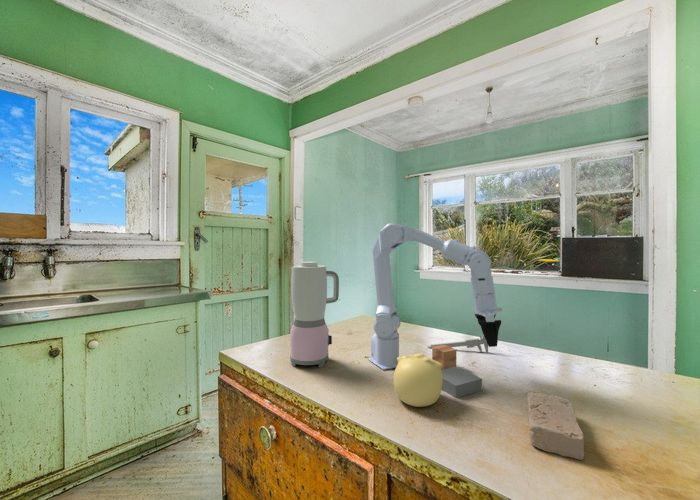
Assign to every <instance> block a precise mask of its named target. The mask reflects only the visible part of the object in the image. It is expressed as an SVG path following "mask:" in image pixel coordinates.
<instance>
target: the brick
mask: <svg viewBox="0 0 700 500" xmlns="http://www.w3.org/2000/svg"><path fill="white" fill-rule="evenodd" d="M526 401H527V414H528V427H529V439H530V440H529V441H530V445H531V446H533V447H536V448H537V449H540V450H542V451H545V452H548V453H552V454H557V455H559V456H561V457H566V458H567V457H569V458H572V459H576V460H579V461H580V460H582V461H583V460H584V457H585V439H584V438H585V437H584V433H583V431H582V428H581V427H580V425H579V423H578V420H577V417H576V413H575V410H574V408H573V407H574V406H573V404H572V402H571V401H570V400H569V399H568V398H564V397H560V396H558V395H557V396H556V395H549V394H543V393H540V392H539V393H538V392H532V391H529V392H528V393H527V397H526Z"/></svg>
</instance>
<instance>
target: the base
mask: <svg viewBox="0 0 700 500" xmlns="http://www.w3.org/2000/svg"><path fill="white" fill-rule="evenodd" d="M442 377H443V382H442V389H441V391H442V390H443V391H444V392H446V393H447V394H449V396H453V397H454V398H456V399H457V398H459V397H463V396H466V395H470V394H473V393H478V392H480V391H483V378H482V377H480V376H478V375H476V374H473V373H471V372H470V371H467V370H465V369H463V368H461V367H459V366H457V365H456V366H455V367H451V368H446V369H442Z"/></svg>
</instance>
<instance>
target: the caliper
mask: <svg viewBox="0 0 700 500" xmlns="http://www.w3.org/2000/svg"><path fill="white" fill-rule="evenodd" d="M478 336H479V337H478V338H469V339H465V340H464V341H451V342H444V343H434V344H430V345H428V346H427V347H426V348H427V349H431V350H432V347H436V346H441V345H446V346H449V347H451V348H459V347H466V348H467V349H470V348H471V349H472V348H474V347H477V348H478V351H479V352H480V353H481V354H482V353H483V349H482V345H484V346H483V347H484V349H485V353H486V354H488V353H489V346H488V344H487V341H486V339H485V337H484V335H483V334H482V336H481V335H478Z"/></svg>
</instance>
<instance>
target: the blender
mask: <svg viewBox="0 0 700 500" xmlns="http://www.w3.org/2000/svg"><path fill="white" fill-rule="evenodd" d="M289 269H290V270H291V282H290V283H291V286H290V287H291V292H290V293H291V294H290V295H291V303H292V310H293V316H294V320H293V324H292V326H291V329H290V333H289V334H290V335H289V338H290V356H289V360H290V363H291V364H290V365H291V366H292V367H294V368H295V367H297V365H301V366H315V365H318V367H319V368H321V367H324V366H325V365H326V364H325V363H326V361H327V360H328V359H329V346H330V345H332V343H333V341H332V339H333V336H332V335H330V334H329V331H330V329H329V327H328V325H327V323H326V320H325V312H326V308H327V304H331V303H332V304H333V303H336V302H337V301H338V300H339V294H340V279H339V275H338V274H337V272H335V271H333V270H332V271H331V270H327V267H326V265H320V264H319V265H318V262H317V261H302V262H301V263H300V265H294V266H290V267H289ZM328 277H331V278H333V296H332V297H328Z"/></svg>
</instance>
